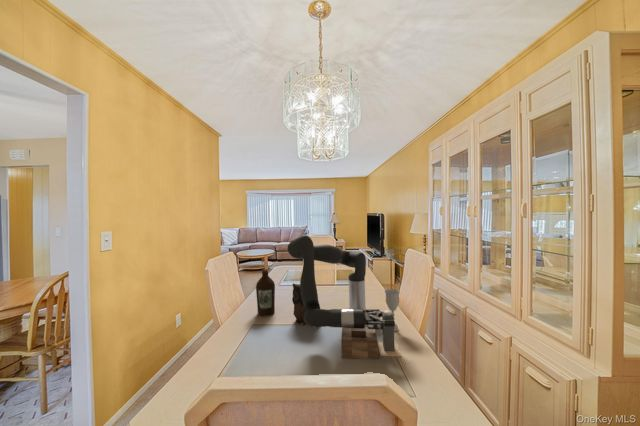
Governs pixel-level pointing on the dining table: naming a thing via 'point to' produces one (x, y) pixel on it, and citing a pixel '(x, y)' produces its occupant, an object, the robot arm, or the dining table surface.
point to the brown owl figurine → (298, 304)
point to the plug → (388, 332)
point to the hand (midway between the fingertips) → (392, 318)
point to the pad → (389, 353)
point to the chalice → (392, 301)
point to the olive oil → (265, 295)
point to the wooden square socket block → (359, 343)
